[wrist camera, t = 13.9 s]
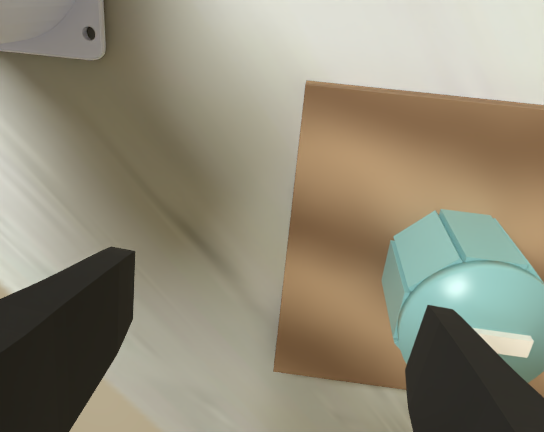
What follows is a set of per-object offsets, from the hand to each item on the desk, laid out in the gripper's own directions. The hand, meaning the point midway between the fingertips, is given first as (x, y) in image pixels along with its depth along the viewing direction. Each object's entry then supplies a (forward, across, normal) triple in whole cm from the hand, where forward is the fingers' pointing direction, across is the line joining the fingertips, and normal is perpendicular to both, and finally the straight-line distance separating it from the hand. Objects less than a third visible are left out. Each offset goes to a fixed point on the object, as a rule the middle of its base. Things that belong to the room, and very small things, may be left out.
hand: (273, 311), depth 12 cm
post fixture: (+10, -7, +2) cm, 12 cm away
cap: (+9, -7, +3) cm, 12 cm away
